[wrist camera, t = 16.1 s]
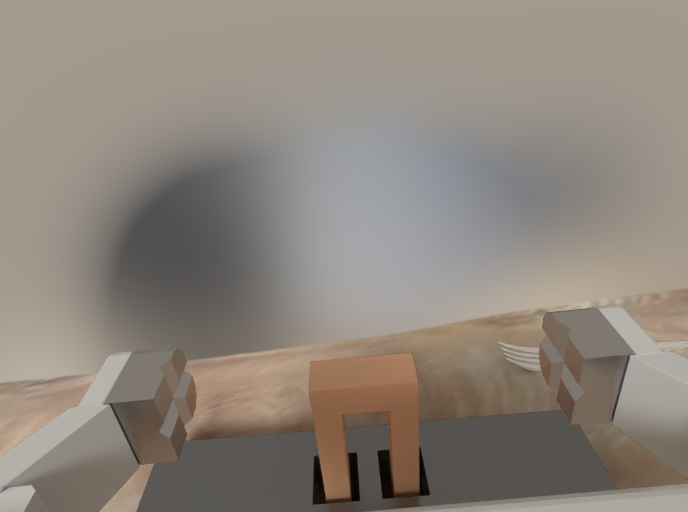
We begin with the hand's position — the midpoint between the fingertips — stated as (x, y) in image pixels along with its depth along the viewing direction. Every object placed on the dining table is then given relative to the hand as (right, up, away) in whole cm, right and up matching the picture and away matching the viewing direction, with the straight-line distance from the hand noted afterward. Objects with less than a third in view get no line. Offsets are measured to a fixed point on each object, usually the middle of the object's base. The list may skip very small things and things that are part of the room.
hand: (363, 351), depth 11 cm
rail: (+1, -15, +22) cm, 26 cm away
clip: (+2, -15, +22) cm, 26 cm away
